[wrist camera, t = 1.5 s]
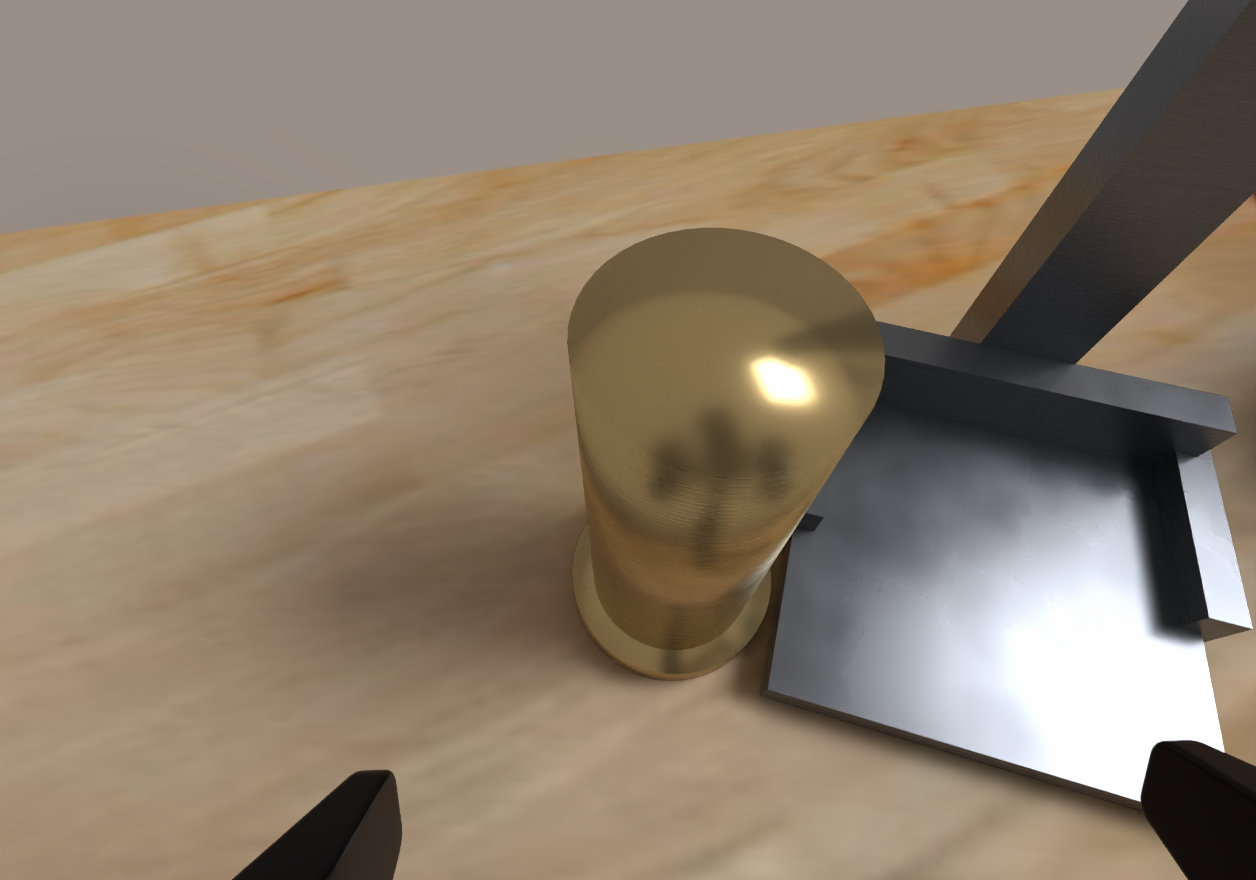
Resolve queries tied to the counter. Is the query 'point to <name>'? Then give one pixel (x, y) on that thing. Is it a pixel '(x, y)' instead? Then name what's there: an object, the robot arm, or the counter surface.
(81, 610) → the counter surface
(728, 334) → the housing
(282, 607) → the counter surface
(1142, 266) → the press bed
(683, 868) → the counter surface
